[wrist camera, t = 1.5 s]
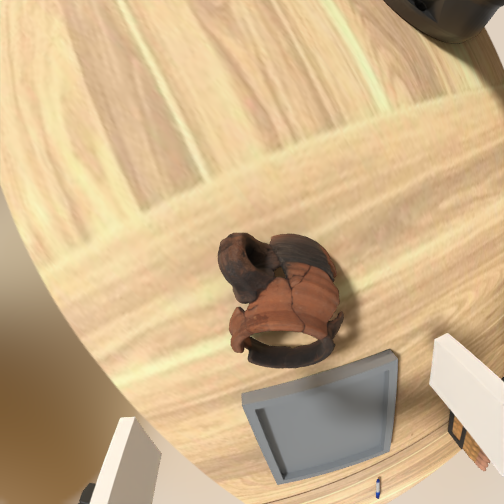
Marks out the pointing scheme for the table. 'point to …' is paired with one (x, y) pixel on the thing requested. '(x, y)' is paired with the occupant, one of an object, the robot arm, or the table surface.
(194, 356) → the table surface
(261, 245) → the broken brown clay pot
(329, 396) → the tray
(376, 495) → the ballpoint pen
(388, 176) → the table surface
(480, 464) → the ammunition clip
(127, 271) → the table surface
